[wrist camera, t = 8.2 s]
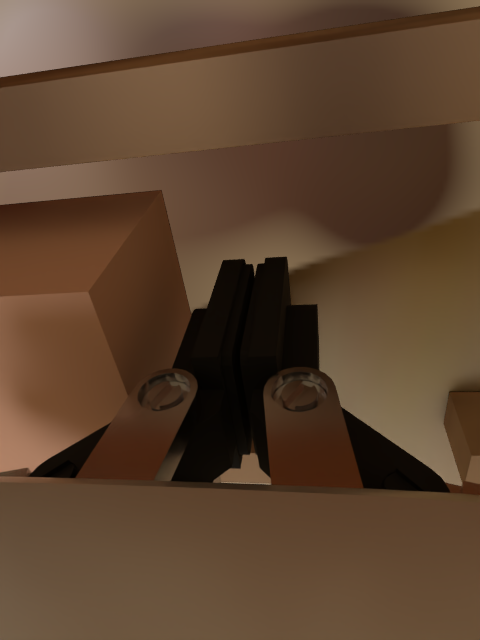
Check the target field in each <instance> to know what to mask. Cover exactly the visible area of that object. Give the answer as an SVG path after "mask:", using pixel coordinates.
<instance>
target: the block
mask: <svg viewBox="0 0 480 640" xmlns="http://www.w3.org/2000/svg"><path fill="white" fill-rule="evenodd" d="M190 318H191V311H190V307H189V303H188V299H187V295H186V290H185V286H184V282H183V278H182V274H181V269H180V265H179V261H178V257H177V253H176V249H175V245H174V240H173V236H172V232H171V227H170V223H169V219H168V215H167V211H166V207H165V202H164V198H163V194H162V190H156V191H146V192H135V193H125V194H113V195H103V196H92V197H81V198H70V199H60V200H49V201H38V202H27V203H16V204H5V205H0V472H5V471H11V470H16V469H22V468H29V470H30V471H31V472H33V471H34V470H35V469H36V468H37V467H38V466H39V465H40V464H42V463H43V462H45V461H46V460H47V459H49V458H51V457H52V456H54V455H56V454H58V453H59V452H61V451H63V450H64V449H66V448H68V447H69V446H71V445H73V444H75V443H76V442H78V441H80V440H81V439H83V438H85V437H87V436H88V435H90V434H92V433H93V432H95V431H97V430H98V429H100V428H102V427H104V426H105V425H107V424H109V423H110V422H112V420H113V419H114V417H115V416H116V414H117V413H118V411H119V410H120V408H121V407H122V405H123V404H124V402H125V400H126V399H127V397H128V396H129V394H130V393H131V391H132V390H133V388H134V387H135V386H136V385H137V383H138V382H139V381H140V380H142V379H143V378H144V377H146V376H147V375H149V374H151V373H154V372H156V371H159V370H164V369H172V366H173V364H174V361H175V358H176V356H177V353H178V350H179V348H180V345H181V342H182V340H183V337H184V334H185V332H186V329H187V326H188V323H189V321H190Z"/></svg>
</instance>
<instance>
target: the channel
mask: <svg viewBox="0 0 480 640" xmlns="http://www.w3.org/2000/svg"><path fill="white" fill-rule="evenodd" d="M479 120H480V6H479V7H472V8H466V9H460V10H452V11H446V12H439V13H432V14H425V15H418V16H412V17H405V18H398V19H391V20H385V21H379V22H372V23H365V24H358V25H352V26H344V27H338V28H331V29H324V30H317V31H311V32H304V33H297V34H290V35H284V36H278V37H270V38H264V39H257V40H250V41H243V42H237V43H230V44H223V45H216V46H210V47H203V48H196V49H189V50H182V51H176V52H169V53H162V54H156V55H149V56H142V57H135V58H128V59H122V60H115V61H109V62H102V63H95V64H88V65H81V66H75V67H68V68H61V69H54V70H48V71H41V72H35V73H27V74H21V75H14V76H7V77H1V78H0V172H6V171H15V170H23V169H33V168H43V167H51V166H61V165H70V164H79V163H89V162H97V161H108V160H117V159H126V158H136V157H145V156H154V155H163V154H173V153H181V152H191V151H200V150H210V149H220V148H228V147H238V146H247V145H257V144H266V143H275V142H285V141H294V140H303V139H311V138H312V139H313V138H321V137H330V136H340V135H349V134H358V133H367V132H378V131H386V130H395V129H405V128H415V127H423V126H432V125H442V124H452V123H461V122H470V121H479ZM444 426H445V429H446V432H447V435H448V439H449V442H450V445H451V448H452V452H453V455H454V458H455V461H456V464H457V468H458V471H459V474H460V477H461V480H462V482H463V481H468V482H472V483H477V484H480V392H449V397H448V403H447V409H446V414H445V420H444ZM220 476H221V482H242V483H271V478H270V477H269V476H267V475H266V474H265V473H264V472H263V471H262V470H261V469H260V468H259V462H258V456H257V455H256V454H255V449H254V443H253V439H252V447H251V453H250V455H243V456H242V463H241V469H229V470H227V471H226V472H224V473H223V474H222V475H220Z"/></svg>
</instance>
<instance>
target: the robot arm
mask: <svg viewBox="0 0 480 640" xmlns="http://www.w3.org/2000/svg"><path fill="white" fill-rule="evenodd" d="M252 439H253V443H254V449H255V454H256V455H257V456H258V462H259V468H260V469H261V470H262V471H263V472H264V473H265V474H266V475H267V476H269V477H270V478H271V485H264V484H236V483H221V476H220V475H222V474H223V473H224V472H226V471H227V470H229V469H241V463H242V456H243V455H250V453H251V447H252ZM0 640H480V484H477V483H472V482H468V481H463V482H462V486H458V485H454V484H449V483H445V482H444V481H443V479H442V478H441V477H440V476H439V475H438V474H436V473H435V472H434V471H433V470H432V469H430V468H429V467H428V466H426V465H425V464H423V463H422V462H420V461H419V460H417V459H416V458H415V457H413V456H412V455H410V454H409V453H407V452H406V451H404V450H403V449H401V448H400V447H399V446H397V445H396V444H394V443H393V442H391V441H390V440H388V439H387V438H385V437H384V436H383V435H381V434H380V433H378V432H377V431H375V430H374V429H372V428H371V427H370V426H368V425H367V424H365V423H364V422H362V421H361V420H359V419H358V418H356V417H355V416H354V415H352V414H351V413H349V412H348V411H346V410H345V409H343V408H342V407H341V405H340V401H339V398H338V394H337V391H336V387H335V385H334V383H333V381H332V379H331V378H330V377H328V376H327V375H326V374H325V373H323V372H321V371H319V334H318V309H317V304H314V305H291V298H290V286H289V273H288V262H287V257H273V258H265V263H264V264H258V265H257V269H256V275H255V276H254V269H253V265H252V264H246V263H245V260H244V259H238V260H223V262H222V265H221V268H220V271H219V274H218V277H217V280H216V283H215V286H214V289H213V292H212V295H211V298H210V301H209V304H208V307H207V308H206V309H195V310H194V311H193V313H192V315H191V318H190V321H189V323H188V326H187V329H186V332H185V334H184V337H183V340H182V342H181V345H180V348H179V350H178V353H177V356H176V358H175V361H174V364H173V366H172V369H164V370H159V371H156V372H154V373H151V374H149V375H147V376H146V377H144V378H143V379H142V380H140V381H139V382H138V383H137V385H136V386H135V387H134V388H133V390H132V391H131V393H130V394H129V396H128V397H127V399H126V400H125V402H124V404H123V405H122V407H121V408H120V410H119V411H118V413H117V414H116V416H115V417H114V419H113V420H112V422H110V423H109V424H107V425H105V426H104V427H102V428H100V429H98V430H97V431H95V432H93V433H92V434H90V435H88V436H87V437H85V438H83V439H81V440H80V441H78V442H76V443H75V444H73V445H71V446H69V447H68V448H66V449H64V450H63V451H61V452H59V453H58V454H56V455H54V456H52V457H51V458H49V459H47V460H46V461H45V462H43V463H42V464H40V465H39V466H38V467H37V468H36V469H35V470H34V471H33V472H31V471H30V470H29V468H22V469H16V470H11V471H5V472H0Z"/></svg>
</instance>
